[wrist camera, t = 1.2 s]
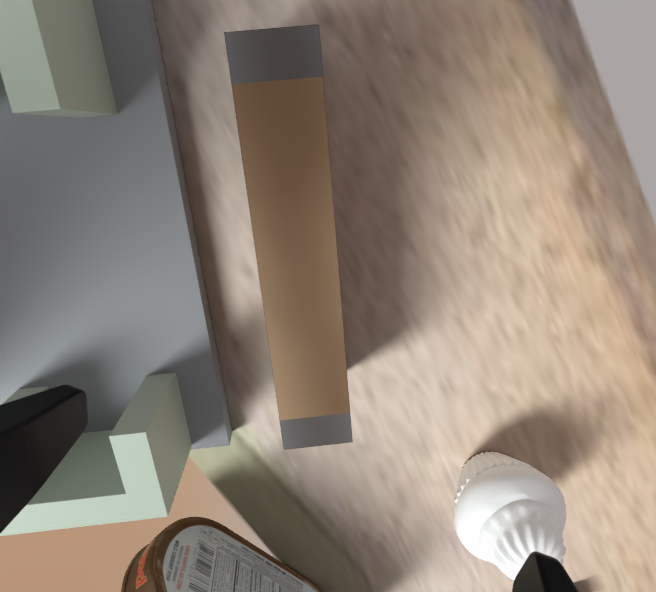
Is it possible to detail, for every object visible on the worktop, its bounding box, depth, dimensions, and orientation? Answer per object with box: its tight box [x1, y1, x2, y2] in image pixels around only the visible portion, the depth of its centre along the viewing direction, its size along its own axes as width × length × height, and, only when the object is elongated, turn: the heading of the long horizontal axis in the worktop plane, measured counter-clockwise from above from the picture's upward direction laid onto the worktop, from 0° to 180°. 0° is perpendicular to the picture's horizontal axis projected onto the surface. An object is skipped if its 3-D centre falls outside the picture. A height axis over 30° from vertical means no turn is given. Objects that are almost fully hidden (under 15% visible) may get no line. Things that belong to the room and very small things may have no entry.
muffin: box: [454, 451, 566, 580], centre depth 25 cm, size 6×6×7 cm
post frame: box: [0, 0, 232, 536], centre depth 20 cm, size 12×22×6 cm, turn 5°
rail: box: [224, 25, 352, 450], centre depth 20 cm, size 3×16×6 cm, turn 5°
